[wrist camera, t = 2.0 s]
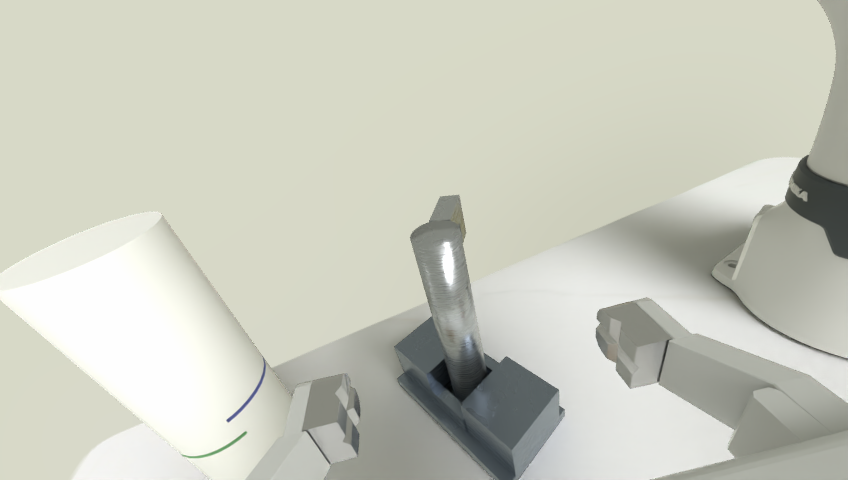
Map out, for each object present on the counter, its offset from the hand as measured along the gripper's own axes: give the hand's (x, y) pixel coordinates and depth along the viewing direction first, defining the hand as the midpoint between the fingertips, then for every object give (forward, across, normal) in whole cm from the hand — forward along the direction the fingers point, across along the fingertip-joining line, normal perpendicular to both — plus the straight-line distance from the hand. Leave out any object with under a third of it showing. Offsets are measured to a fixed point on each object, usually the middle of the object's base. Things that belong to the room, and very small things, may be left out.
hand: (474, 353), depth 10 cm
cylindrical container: (+10, +18, +22) cm, 29 cm away
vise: (+12, 0, +21) cm, 25 cm away
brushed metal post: (+14, -1, +20) cm, 25 cm away
